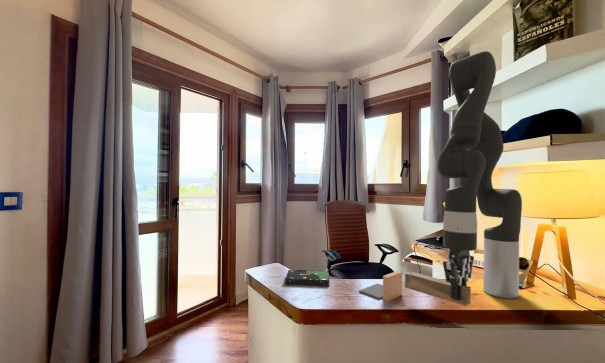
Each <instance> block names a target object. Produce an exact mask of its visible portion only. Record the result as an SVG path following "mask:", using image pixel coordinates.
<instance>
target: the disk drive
mask: <svg viewBox="0 0 605 363" xmlns="http://www.w3.org/2000/svg"><path fill="white" fill-rule="evenodd" d="M310 279H311V280H310ZM322 279H326V280H322ZM284 280H285V282H284V284H285V286H303V287H304V286H305V287H321V288H322V287H328V288H329V287H330V274H329V271H325V270H304V269H303V270H302V269H301V270H300V269H288V271H287V273H286V276H285V279H284Z"/></svg>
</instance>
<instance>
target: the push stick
mask: <svg viewBox="0 0 605 363" xmlns="http://www.w3.org/2000/svg"><path fill="white" fill-rule="evenodd" d="M404 288H405V289H409V290H413V291H414V292H415V291H416V292H419V293H422V294H425V295H429V296H431V297H435V298H437V299H440V300H444V301H447V302H448V301H449V302H451V303H455V304H457V305H461V306H465V307H467V306H469V305H470V304H471V296H472V295H471V291H472V290H471V286H469V285H467V286H464V285H461V300H459V301H457V300H454V299H452V298H451V283H449V282H446V279H445V280H444V279H441V278H437V277H433V276H429V275H425V274H422V273H417V272H414V271H408V272H405V273H404Z"/></svg>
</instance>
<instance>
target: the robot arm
mask: <svg viewBox="0 0 605 363" xmlns="http://www.w3.org/2000/svg"><path fill="white" fill-rule="evenodd" d="M448 70H449V71H448V72H449V81H450V84H451V87H452V91H453V94H454V97H455V100H456V103H457V106H458V109H457V111H456V112H455V114H454V116H453V118H452V122H451V128H450V132H449V133H450V134H449V138H448V140H447V141H446V144H445V146H444V148H443V149H442V150H441V153H440V155H439V158H438V160H437V172H438V173H439V174H440V177H442V178H443V179H466V181H465V183H464V184H463V185H460V186H456V187H450V188H448V189H446V190H445V192H444V214H443V219H442V222H443V224H442V225H443V226H442V245H443V247H444V248H447V249H449V253H448V256H447V260H443V261H442V265H443V270H444V271H443V272H444V277H445V281H446V282H449V283H451V298H452V299H454V300H457V301H459V300H461V285H464V286H468V285H467V283H468V282H469V279H471V277H472V273H473V266H474V260H475V256H474V255H470V254H471V253H470V252H472V251H475V250H477V248H478V218H477V206H478V209H479V212H480V213H481V214H482V215H483V216H485V217H490V218H500V219H501V218H502V219H501V223H500V224H498V225H496V226H493V227H488V228H485V229H484V230H483V282H482V284H483V287H482V288H483V290H482V291H483V292H484V293H486V294H487V295H488V294H489V295H490V296H493V297H497V298H503V299H512V300H513V299H517V298H519V296H520V293H519V290H520V289H519V288H520V233H521V223H522V210H523V199H522V195H521V193H520V191H518V190H517V189H513V188H512V189H511V188H494V187H493V180H492V178H493V177H492V176H493V172H494V170H495V169H496V166H497V164H498V162H499V161H500V158H501V157H502V154H503V152H504V141H503V137H502V136H503V135H502V131H501V128H500V126H499V124H498V123H497V122H496V121H495V120H494V119H493V118H492V117H491V116H490V115H488V114H487V113H486V112H485V110H486V106H487V105H488V104H487V103H488V101H489V98H490V95H491V93H492V88H493V85H494V82H495V79H496V75H497V74H496V73H497V65H496V61H495V58H494V56H493V54H492V53H491V52H490V51H488V50H487V51H486V50H485V51H480V52H477V53H474V54H472V55H469V56H467V57H464V58H461V59H459V60H456V61H454V62H452V63H451V64H450V66H449V69H448ZM470 90H472V91H470Z"/></svg>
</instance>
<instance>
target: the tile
mask: <svg viewBox="0 0 605 363" xmlns="http://www.w3.org/2000/svg"><path fill="white" fill-rule="evenodd" d="M382 285H383V298H382V300H383V301H386V302H390V301H391V300H394V299H396V298H398V297H401V296H402V295H403V272H402V271H399V270H396V271H393V272H390V273H387V274H385V275H383V276H382Z"/></svg>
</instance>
